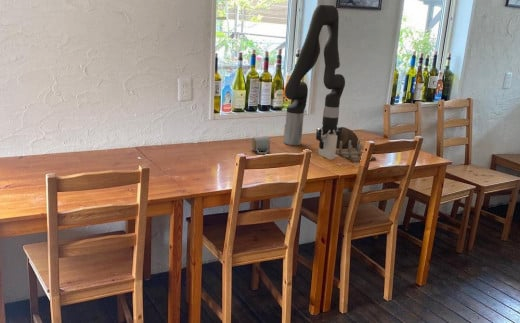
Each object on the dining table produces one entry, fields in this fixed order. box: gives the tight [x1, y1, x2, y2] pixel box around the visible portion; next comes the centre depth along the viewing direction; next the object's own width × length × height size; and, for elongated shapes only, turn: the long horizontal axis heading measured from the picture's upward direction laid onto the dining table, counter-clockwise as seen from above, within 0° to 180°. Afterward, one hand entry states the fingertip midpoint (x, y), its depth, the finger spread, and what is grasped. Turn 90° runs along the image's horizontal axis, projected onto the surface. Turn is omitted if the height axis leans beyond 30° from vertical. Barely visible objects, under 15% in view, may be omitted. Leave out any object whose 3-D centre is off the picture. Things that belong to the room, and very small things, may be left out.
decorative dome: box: [335, 126, 359, 150], centre depth 265 cm, size 19×20×10 cm
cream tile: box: [317, 131, 337, 160], centre depth 241 cm, size 10×3×12 cm, turn 28°
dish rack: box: [335, 139, 377, 164], centre depth 244 cm, size 18×14×7 cm
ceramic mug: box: [251, 135, 271, 155], centre depth 241 cm, size 11×8×8 cm
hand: (327, 148), depth 241 cm, fingers open, 6 cm apart
